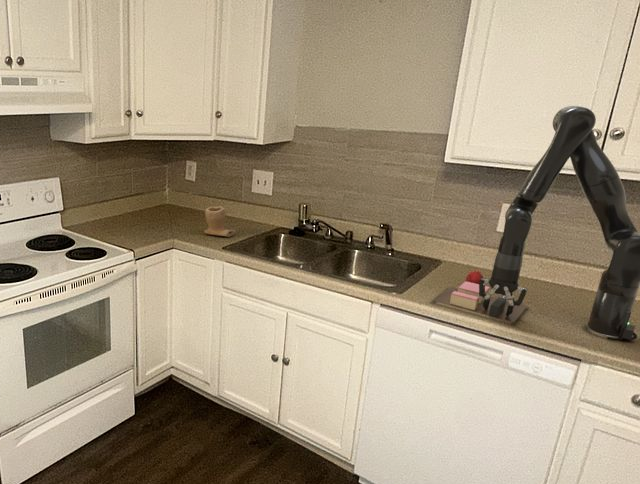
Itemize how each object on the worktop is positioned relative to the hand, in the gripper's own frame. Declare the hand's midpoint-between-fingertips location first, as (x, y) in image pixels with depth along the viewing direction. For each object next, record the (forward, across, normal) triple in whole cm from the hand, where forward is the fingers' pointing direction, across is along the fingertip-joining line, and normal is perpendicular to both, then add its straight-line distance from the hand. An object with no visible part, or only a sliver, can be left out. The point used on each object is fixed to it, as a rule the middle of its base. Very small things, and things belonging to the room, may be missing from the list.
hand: (497, 311), depth 177 cm
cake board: (+1, -6, +5) cm, 8 cm away
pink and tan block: (0, -10, -2) cm, 10 cm away
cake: (0, -10, +9) cm, 13 cm away
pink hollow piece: (+2, -128, +8) cm, 128 cm away
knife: (0, 0, +5) cm, 5 cm away
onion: (+2, -13, +22) cm, 26 cm away
